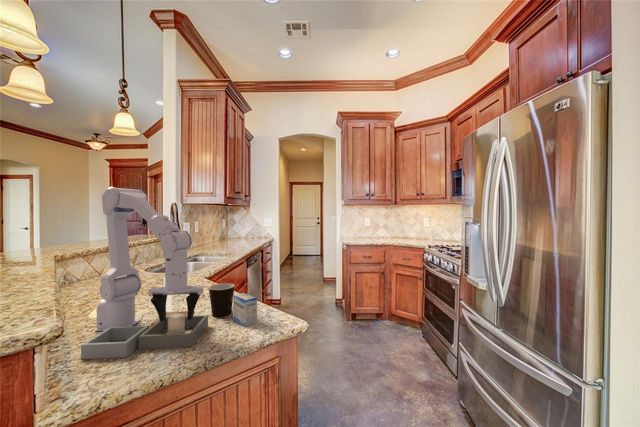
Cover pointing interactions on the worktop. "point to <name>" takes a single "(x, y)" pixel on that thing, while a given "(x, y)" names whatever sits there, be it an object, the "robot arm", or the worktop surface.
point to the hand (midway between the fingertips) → (176, 319)
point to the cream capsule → (176, 324)
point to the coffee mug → (221, 299)
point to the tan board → (170, 315)
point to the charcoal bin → (181, 340)
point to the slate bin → (106, 349)
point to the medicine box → (245, 309)
